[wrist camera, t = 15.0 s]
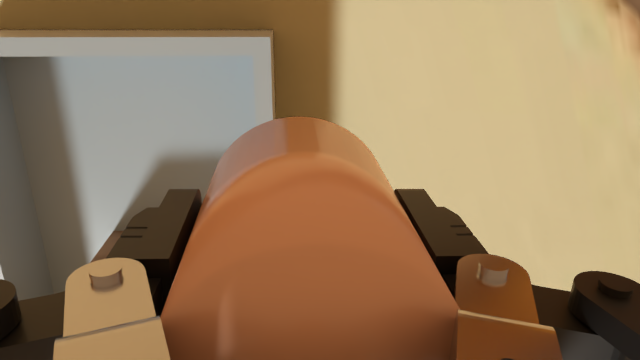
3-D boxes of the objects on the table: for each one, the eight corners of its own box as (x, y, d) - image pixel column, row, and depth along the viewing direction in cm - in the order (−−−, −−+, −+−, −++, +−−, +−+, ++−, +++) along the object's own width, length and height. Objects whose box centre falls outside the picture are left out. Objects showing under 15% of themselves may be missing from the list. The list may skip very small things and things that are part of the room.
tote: (273, 29, 26) (270, 36, 22) (281, 332, 33) (281, 388, 28) (-12, 29, 25) (-79, 37, 21) (58, 341, 32) (20, 400, 27)
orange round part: (392, 117, 13) (501, 242, 7) (378, 277, 15) (454, 499, 8) (204, 115, 13) (124, 244, 6) (213, 280, 15) (158, 514, 8)
